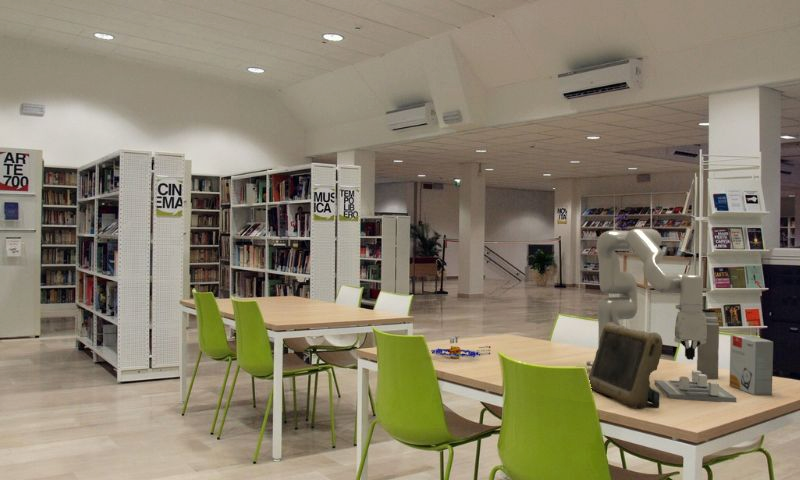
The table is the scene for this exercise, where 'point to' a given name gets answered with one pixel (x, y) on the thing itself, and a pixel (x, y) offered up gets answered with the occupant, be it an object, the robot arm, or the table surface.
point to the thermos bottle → (709, 347)
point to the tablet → (626, 365)
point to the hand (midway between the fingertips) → (689, 358)
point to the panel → (692, 392)
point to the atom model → (458, 351)
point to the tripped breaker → (684, 383)
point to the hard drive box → (751, 364)
